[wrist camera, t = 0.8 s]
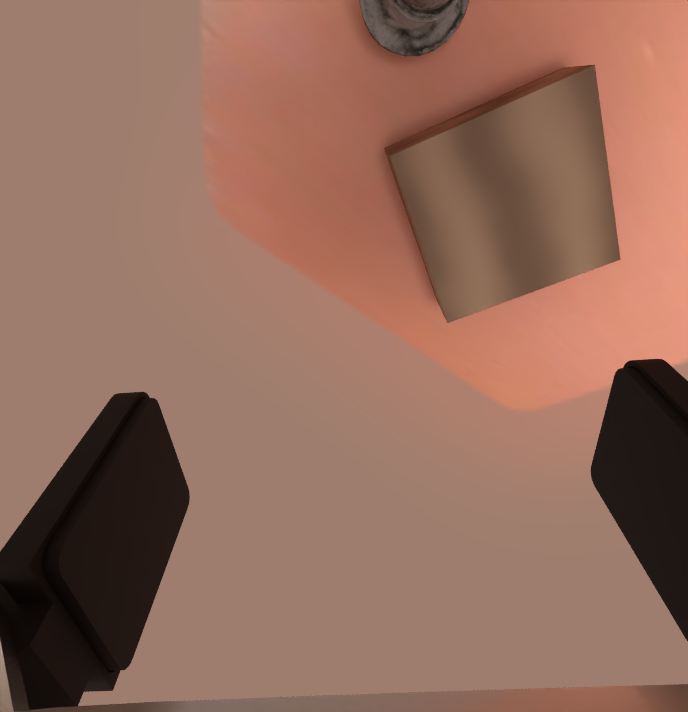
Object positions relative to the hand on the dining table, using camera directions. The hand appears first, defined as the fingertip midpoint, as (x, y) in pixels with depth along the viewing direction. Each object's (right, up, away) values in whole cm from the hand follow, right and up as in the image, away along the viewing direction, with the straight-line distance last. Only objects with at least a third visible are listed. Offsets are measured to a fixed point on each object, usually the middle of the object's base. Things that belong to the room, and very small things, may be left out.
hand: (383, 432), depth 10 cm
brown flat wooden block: (+10, +13, +23) cm, 28 cm away
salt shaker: (+3, +23, +18) cm, 29 cm away
